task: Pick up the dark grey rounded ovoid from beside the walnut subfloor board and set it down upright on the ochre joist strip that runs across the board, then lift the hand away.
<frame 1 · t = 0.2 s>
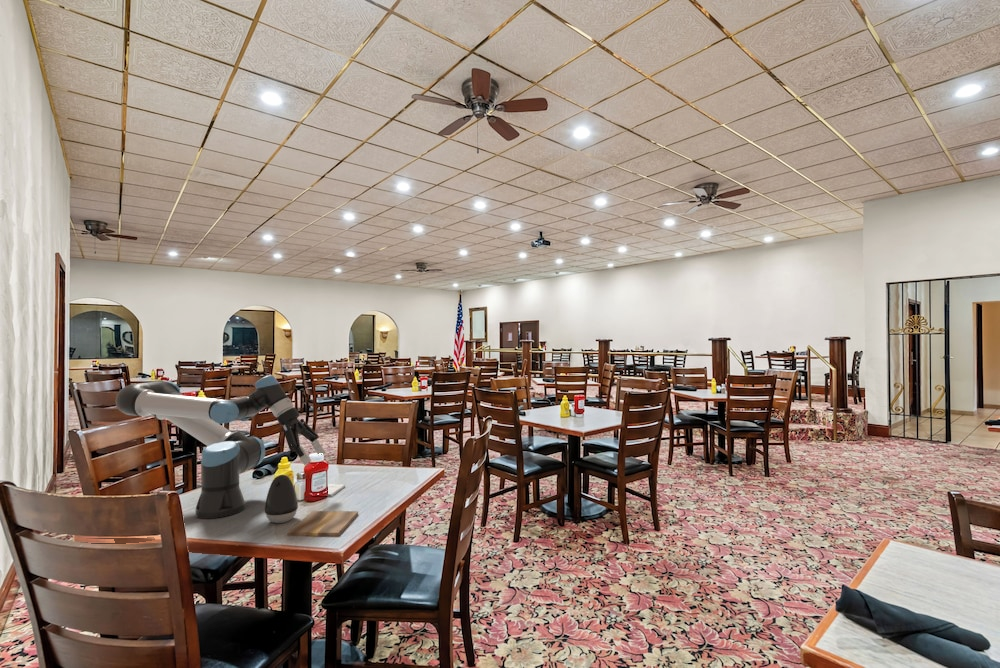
hand: (315, 458, 180), 15 cm above the table, tool tilted 35°, fingers open, 13 cm apart
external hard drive: (328, 493, 189), on the table
dark grey rounded ovoid: (281, 521, 159), on the table
subfloor board: (324, 524, 156), on the table
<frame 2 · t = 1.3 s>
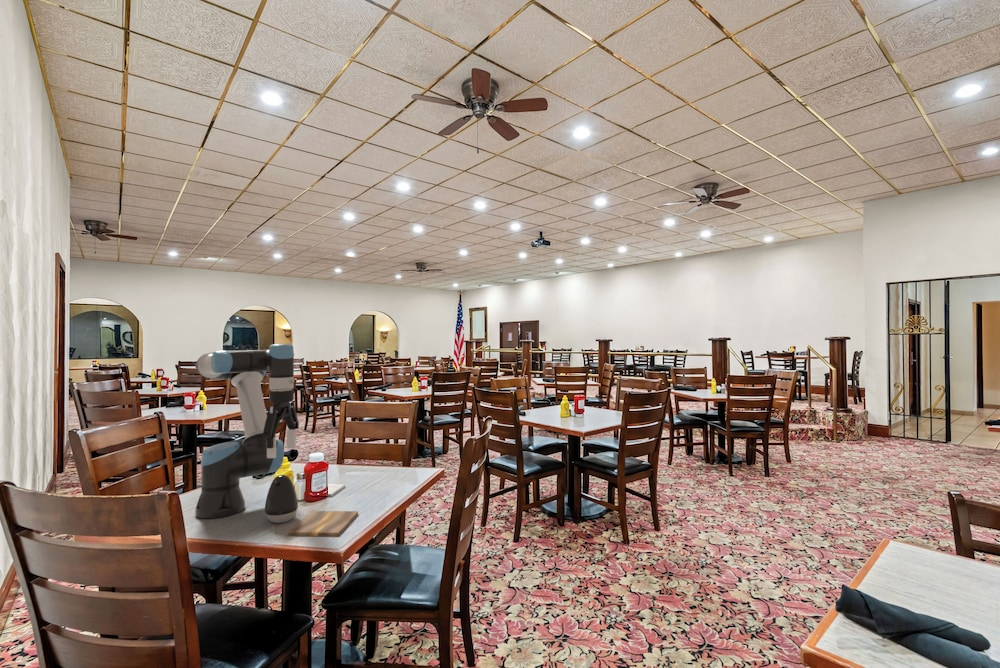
hand: (281, 453, 159), 23 cm above the table, tool pointing down, fingers open, 13 cm apart
nothing on the table moved.
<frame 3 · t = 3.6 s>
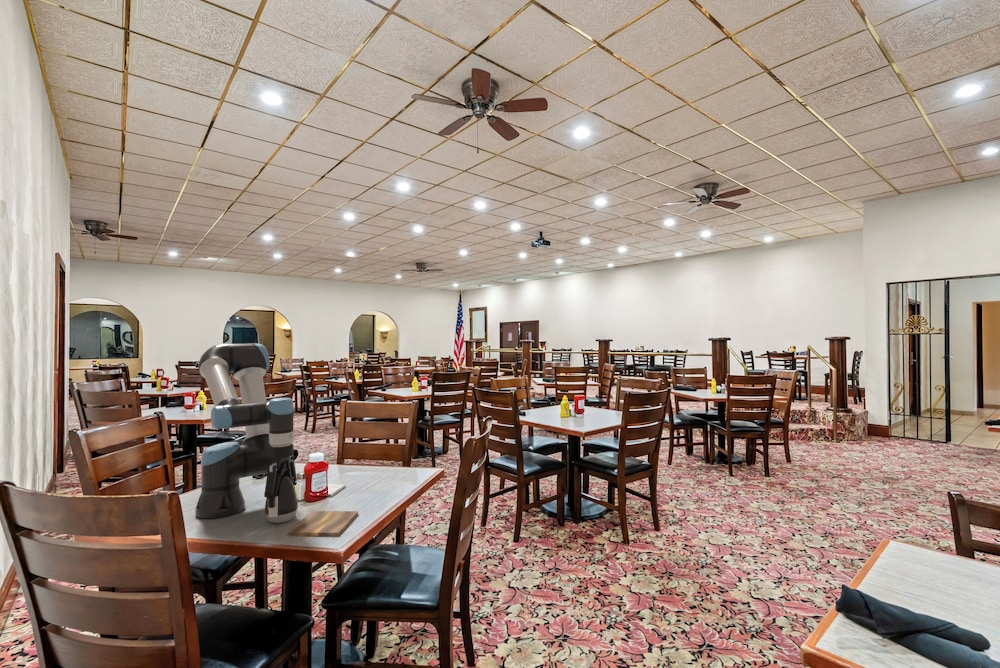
hand: (281, 510, 159), 3 cm above the table, tool pointing down, fingers closed on dark grey rounded ovoid, 10 cm apart
dark grey rounded ovoid: (281, 521, 159), on the table, touching gripper
everything else where it was.
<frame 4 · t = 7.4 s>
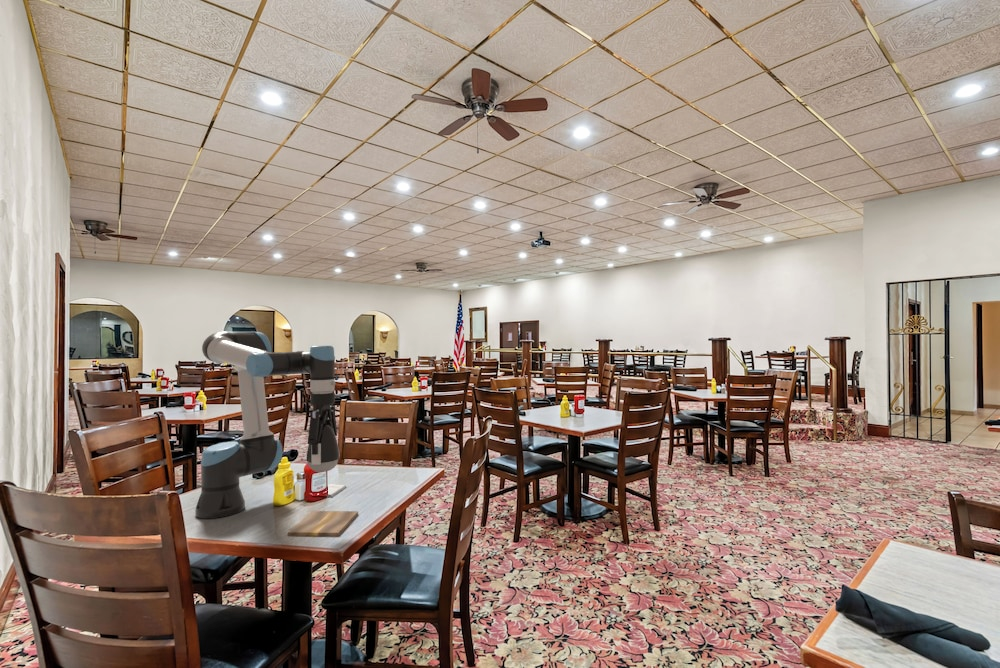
hand: (323, 459, 156), 21 cm above the table, tool pointing down, fingers closed on dark grey rounded ovoid, 10 cm apart
dark grey rounded ovoid: (323, 470, 156), point 18 cm above the table, touching gripper
everything else where it was.
when the fingers open (6 cm above the table, at t = 11.2 s): dark grey rounded ovoid drops 2 cm, resting on subfloor board.
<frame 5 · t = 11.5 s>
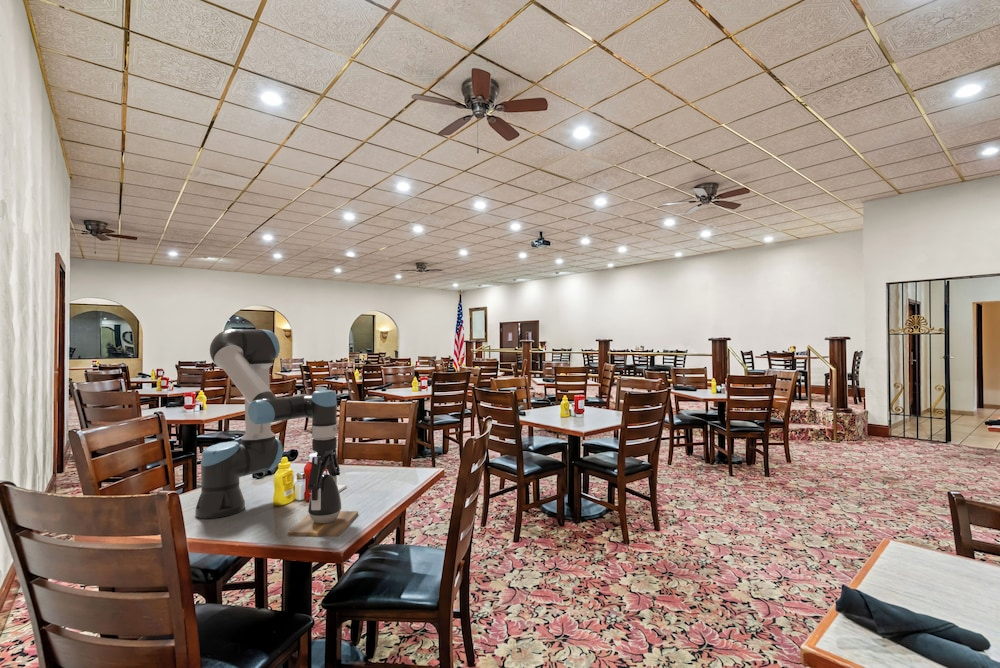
hand: (324, 502, 156), 7 cm above the table, tool pointing down, fingers open, 13 cm apart
dark grey rounded ovoid: (324, 521, 156), point 1 cm above the table, touching subfloor board
everything else where it was.
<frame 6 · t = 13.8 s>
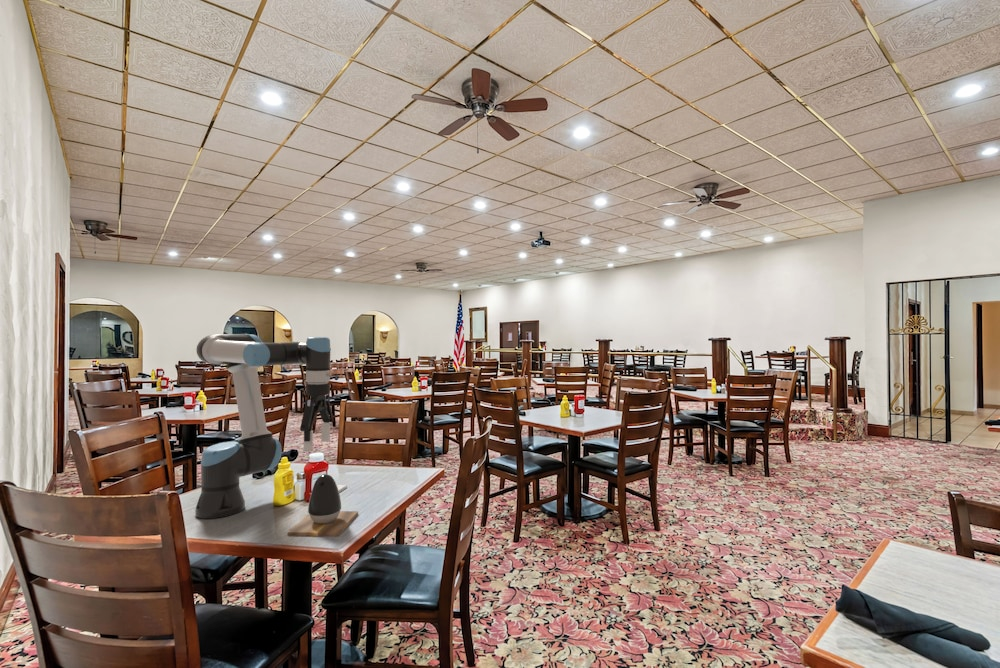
hand: (317, 445, 159), 25 cm above the table, tool pointing down, fingers open, 13 cm apart
nothing on the table moved.
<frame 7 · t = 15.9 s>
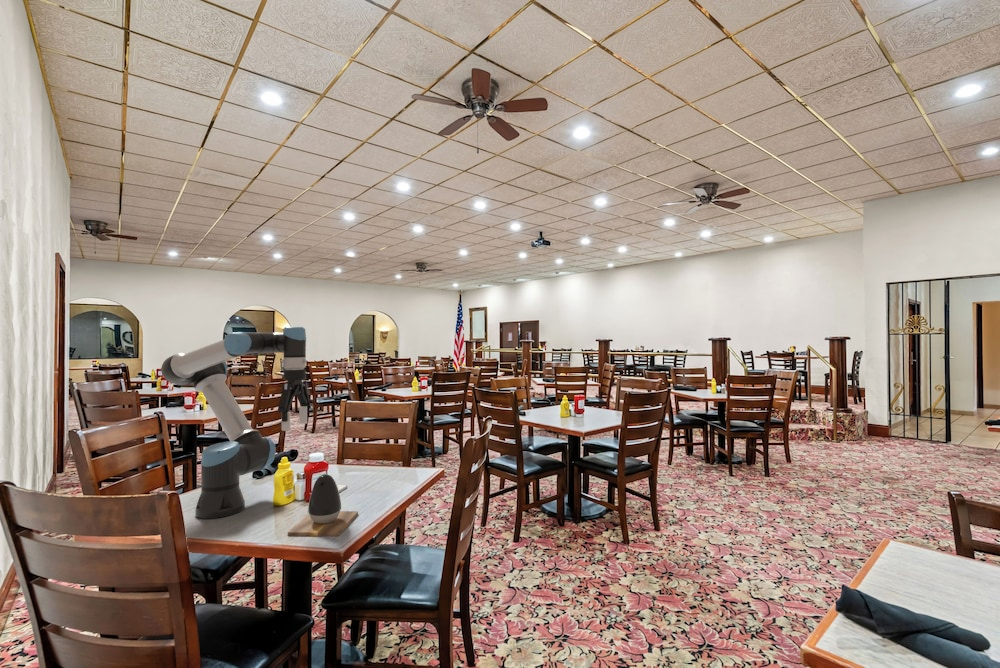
hand: (294, 427, 173), 29 cm above the table, tool pointing down, fingers open, 13 cm apart
at the end: dark grey rounded ovoid 0.2 cm from the subfloor board (horizontally); dark grey rounded ovoid tilted 0°; dark grey rounded ovoid touching subfloor board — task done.
